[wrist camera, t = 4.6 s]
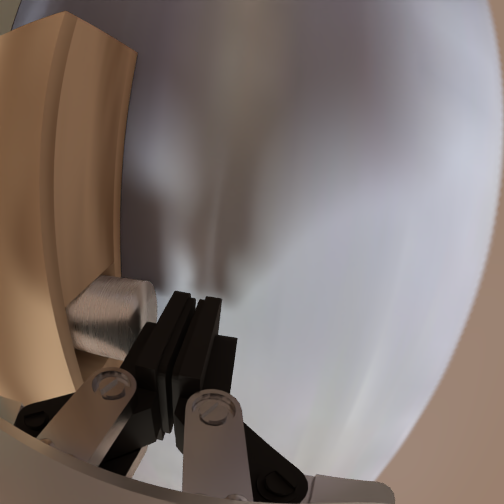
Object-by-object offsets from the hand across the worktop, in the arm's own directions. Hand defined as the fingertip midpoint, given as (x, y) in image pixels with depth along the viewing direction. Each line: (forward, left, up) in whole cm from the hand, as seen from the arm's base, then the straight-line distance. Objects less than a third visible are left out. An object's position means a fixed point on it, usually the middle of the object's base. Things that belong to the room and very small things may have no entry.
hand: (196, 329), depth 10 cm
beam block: (-4, +5, -2) cm, 7 cm away
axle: (-5, +7, -1) cm, 9 cm away
